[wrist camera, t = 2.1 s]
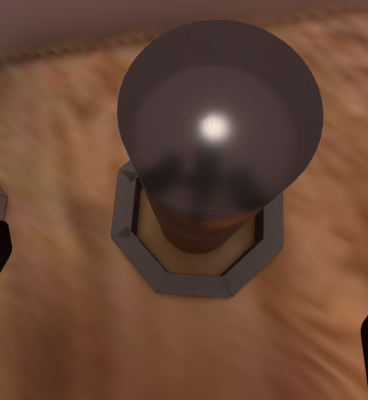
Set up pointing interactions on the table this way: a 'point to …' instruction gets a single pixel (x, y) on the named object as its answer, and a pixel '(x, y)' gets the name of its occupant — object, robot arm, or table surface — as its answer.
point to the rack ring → (2, 203)
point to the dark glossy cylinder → (217, 127)
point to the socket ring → (187, 283)
